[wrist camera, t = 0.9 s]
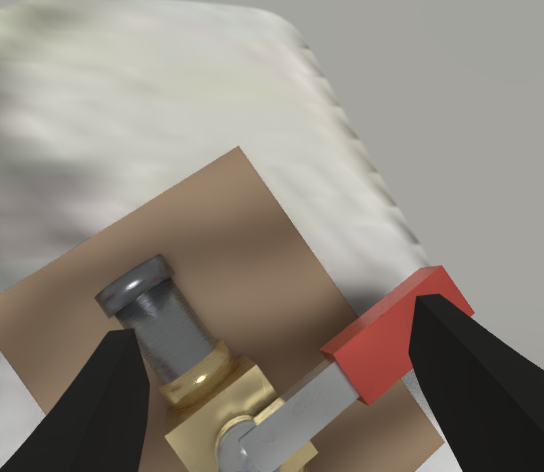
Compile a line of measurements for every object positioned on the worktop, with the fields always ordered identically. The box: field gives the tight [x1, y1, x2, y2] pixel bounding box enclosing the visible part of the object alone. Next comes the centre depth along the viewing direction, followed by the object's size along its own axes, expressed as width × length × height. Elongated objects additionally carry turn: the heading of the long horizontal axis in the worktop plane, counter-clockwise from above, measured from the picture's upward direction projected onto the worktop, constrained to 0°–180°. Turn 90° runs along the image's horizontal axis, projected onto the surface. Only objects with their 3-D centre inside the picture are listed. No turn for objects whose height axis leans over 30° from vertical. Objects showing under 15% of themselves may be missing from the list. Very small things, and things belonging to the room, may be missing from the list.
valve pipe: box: [94, 254, 318, 472], centre depth 22 cm, size 18×5×5 cm, turn 36°
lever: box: [214, 266, 474, 472], centre depth 20 cm, size 13×3×2 cm, turn 125°
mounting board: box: [0, 146, 445, 472], centre depth 25 cm, size 21×16×1 cm
